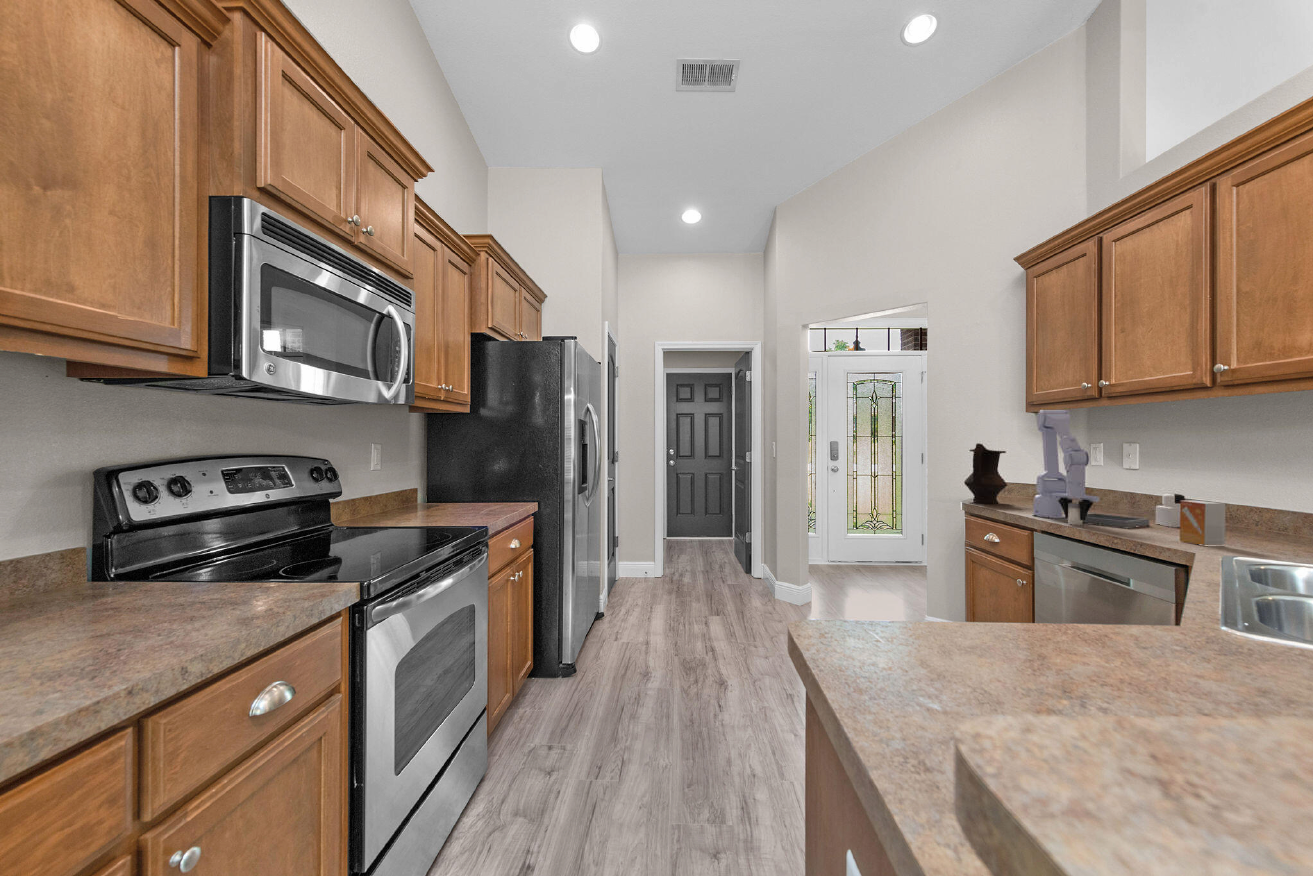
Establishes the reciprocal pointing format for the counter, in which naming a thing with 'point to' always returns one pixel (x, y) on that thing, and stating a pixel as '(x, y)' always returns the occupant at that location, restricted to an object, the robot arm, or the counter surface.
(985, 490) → the jug
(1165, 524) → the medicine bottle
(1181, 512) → the small box
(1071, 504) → the shaker
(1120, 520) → the tray
